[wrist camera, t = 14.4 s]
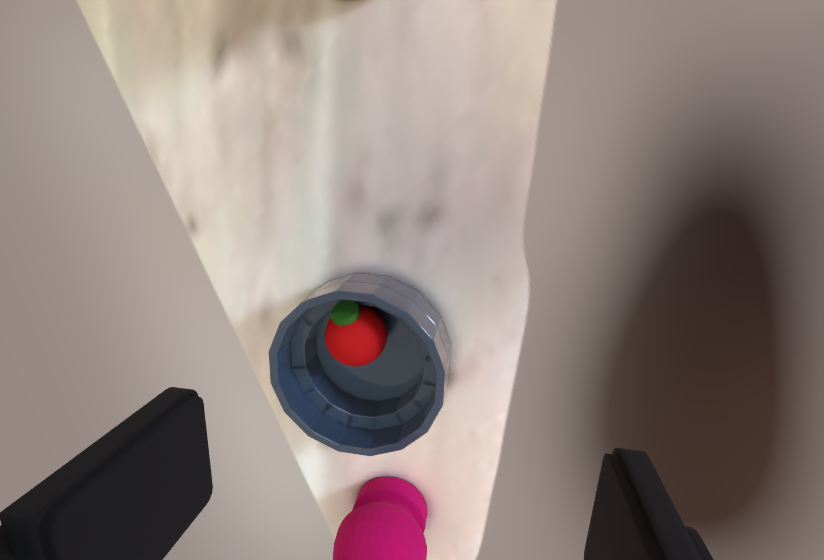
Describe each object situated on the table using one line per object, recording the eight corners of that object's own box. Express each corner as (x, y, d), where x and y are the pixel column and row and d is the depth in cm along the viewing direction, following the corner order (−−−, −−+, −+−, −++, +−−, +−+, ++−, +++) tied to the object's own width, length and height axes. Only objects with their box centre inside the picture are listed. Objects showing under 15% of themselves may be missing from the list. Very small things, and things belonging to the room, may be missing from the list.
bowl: (296, 265, 33) (264, 283, 29) (456, 278, 32) (450, 301, 27) (301, 404, 37) (273, 441, 32) (445, 424, 35) (438, 466, 30)
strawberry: (350, 329, 35) (329, 286, 32) (401, 333, 33) (384, 288, 30) (328, 376, 32) (302, 333, 29) (383, 382, 30) (361, 337, 27)
